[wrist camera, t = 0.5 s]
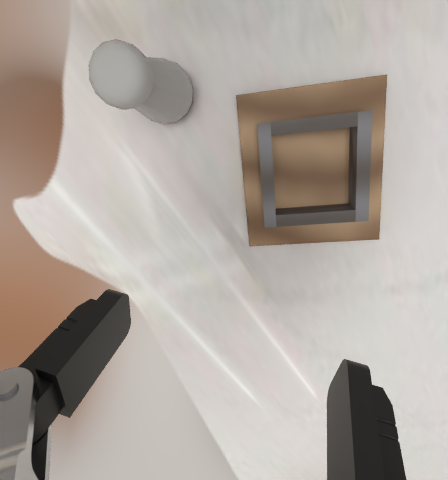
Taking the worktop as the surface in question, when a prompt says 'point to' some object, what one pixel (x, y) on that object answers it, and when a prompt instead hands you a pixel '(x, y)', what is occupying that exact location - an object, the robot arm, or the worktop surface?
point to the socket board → (313, 161)
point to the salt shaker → (140, 82)
